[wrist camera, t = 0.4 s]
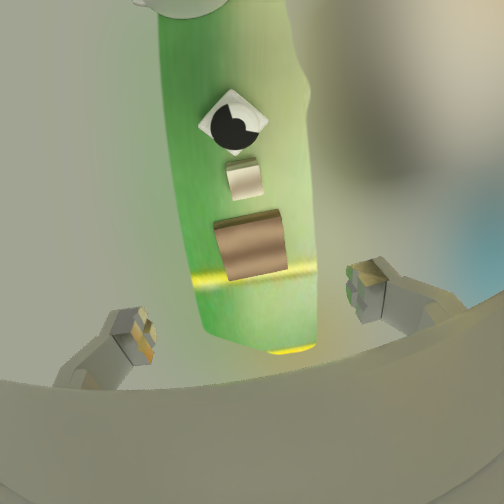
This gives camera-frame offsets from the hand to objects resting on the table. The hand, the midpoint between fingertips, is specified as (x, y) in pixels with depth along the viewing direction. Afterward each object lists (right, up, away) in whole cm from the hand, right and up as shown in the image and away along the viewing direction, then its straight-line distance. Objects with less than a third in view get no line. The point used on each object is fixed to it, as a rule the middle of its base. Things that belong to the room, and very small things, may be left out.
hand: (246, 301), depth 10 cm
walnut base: (0, +4, +43) cm, 43 cm away
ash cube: (-1, +15, +35) cm, 38 cm away
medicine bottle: (-3, +23, +30) cm, 38 cm away
